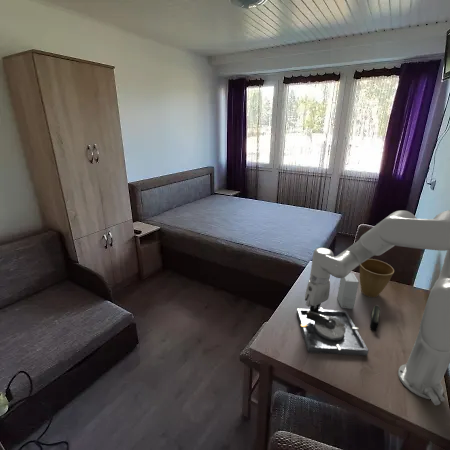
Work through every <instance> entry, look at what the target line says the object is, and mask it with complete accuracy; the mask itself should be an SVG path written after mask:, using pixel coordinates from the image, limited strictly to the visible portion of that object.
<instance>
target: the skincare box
mask: <svg viewBox="0 0 450 450" xmlns="http://www.w3.org/2000/svg"><path fill="white" fill-rule="evenodd" d="M359 283H360V280H358V278H357V277H356V275H355V273H352V272H350V273H349V274H348V275H347V276H346V277H344V278H339V286H338V291H337V297H336V298H337V301H338V304H339V306H340V308H341V309H342V308H343V309H350V310H354V307H355V303H356V298H357V297H356V296H357V293H358V288H359Z"/></svg>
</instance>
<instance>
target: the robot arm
mask: <svg viewBox="0 0 450 450" xmlns="http://www.w3.org/2000/svg"><path fill="white" fill-rule="evenodd" d="M395 246H396V247H401V248H402V247H404V248H409V249H410V248H411V249H422V250H431V251H439V252H441V251H444V252H445V251H446V254H445V257H444V258H443V259H444V260H443V264H442V267H441V270H440V272H439V276H438V278H437V279H436V281H435V283H434V284H433V286H432V288H431V290H430V293H429V295H428V298H427V300H426V304H425V307H424V311H423V314H422V318H421V321H420V323H419V324H420V325H419V330H418V334H417V336H416V339H415V342H414V344H413V346H412V349H411V352H410V355H409V357H408V360H407V361H406V363H405V364H401V365H400V366H399V368H398V371H397V375H398V378H399V380H400V382H401V383H402V385H404V387H405V388H407V390H409V391H410V392H412V393H413V394H415V395H416V396H418V397H421V398H423V399H426V400H430V399H431V400H430V401H431V402H432V404H434V405H435V406H440V405H441V402H445V400H446V398H445V397H444V396H443V394H444V386H443V385H442V383H441V382H442V381H443V379H444V376H445V374H446V372H447V370H448V367H449V365H450V209H448V210H445V211H441V212H439V213H438V214H436V216H435V217H433V218H417V217H416V215H414V213H412V212H410V211H408V210H396V211H393V212H392V213H390V214H389V215H388V216H386V217H385V218H384V219H382V220H381V221H379V222H378V223H376V225H374V226H373V227H371V228H370V229H369V230H367V231H366V232H364V233H363V234H362V235H361V236H360V237H359V239H358V240H357V241H356V242H354V243H353V244H351V245H350V246H349V247H347V248H346V249H344V250H343V251H342V252H340V253H339V254H337V255H334V252H333V251H332V250H331V249H329V248H327V247H318V248H315V249H314V250H313V255H312V260H311V267H310V274H309V280H308V282H307V286H306V289H305V295H304V300H305V302H306V303H305V306H307V307H308V308H309V309H310V310H311V311H313V312H316V313H318V310H320V308H321V304H323V303H324V302H326V301H328V300H329V297H330V291H331V279H330V277H331V276H332V277H334V278H336V279H341V278H344V277H346V276H347V275H348V274H349V273H352V271H353V270H355V269H356V268H357V267H360V264H361V263H363V262H364V261H366V260H367V259H372V257H374V256H378V257H379V256H381V255H383V254H384V253H386V252H387V251H389V250H390V249H392V248H394V247H395Z"/></svg>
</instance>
